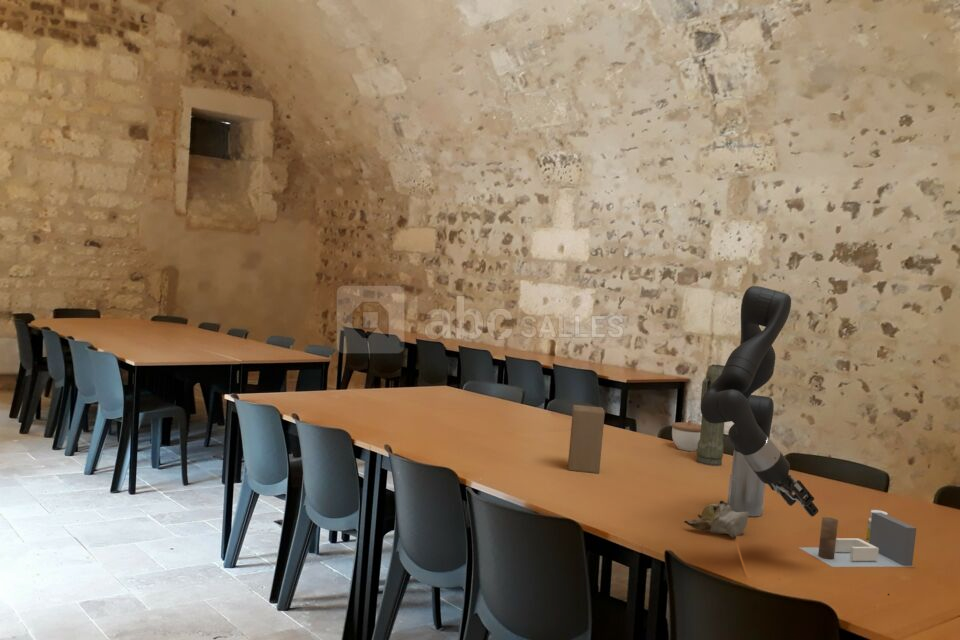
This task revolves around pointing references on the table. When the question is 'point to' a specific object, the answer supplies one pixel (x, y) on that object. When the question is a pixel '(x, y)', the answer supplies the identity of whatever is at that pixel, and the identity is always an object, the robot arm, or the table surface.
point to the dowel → (828, 538)
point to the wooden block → (586, 439)
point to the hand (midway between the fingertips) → (803, 508)
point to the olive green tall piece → (710, 427)
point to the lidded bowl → (686, 435)
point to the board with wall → (880, 545)
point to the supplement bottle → (870, 521)
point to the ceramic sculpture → (720, 520)
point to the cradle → (857, 549)
